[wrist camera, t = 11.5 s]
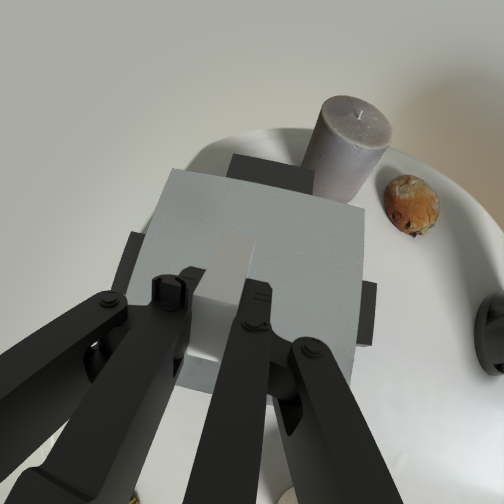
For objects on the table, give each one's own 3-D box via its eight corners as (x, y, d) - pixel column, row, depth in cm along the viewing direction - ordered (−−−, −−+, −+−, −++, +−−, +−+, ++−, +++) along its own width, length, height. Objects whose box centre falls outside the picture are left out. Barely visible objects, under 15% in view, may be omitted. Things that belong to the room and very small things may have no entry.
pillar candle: (295, 155, 44) (316, 82, 30) (351, 160, 45) (384, 95, 31) (302, 206, 41) (332, 134, 27) (362, 209, 41) (408, 147, 28)
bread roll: (420, 217, 46) (440, 183, 41) (430, 251, 39) (457, 213, 33) (375, 196, 47) (394, 158, 42) (379, 227, 40) (404, 183, 34)
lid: (359, 190, 28) (364, 184, 26) (338, 410, 20) (344, 412, 18) (184, 153, 28) (182, 145, 27) (113, 362, 20) (108, 362, 19)
